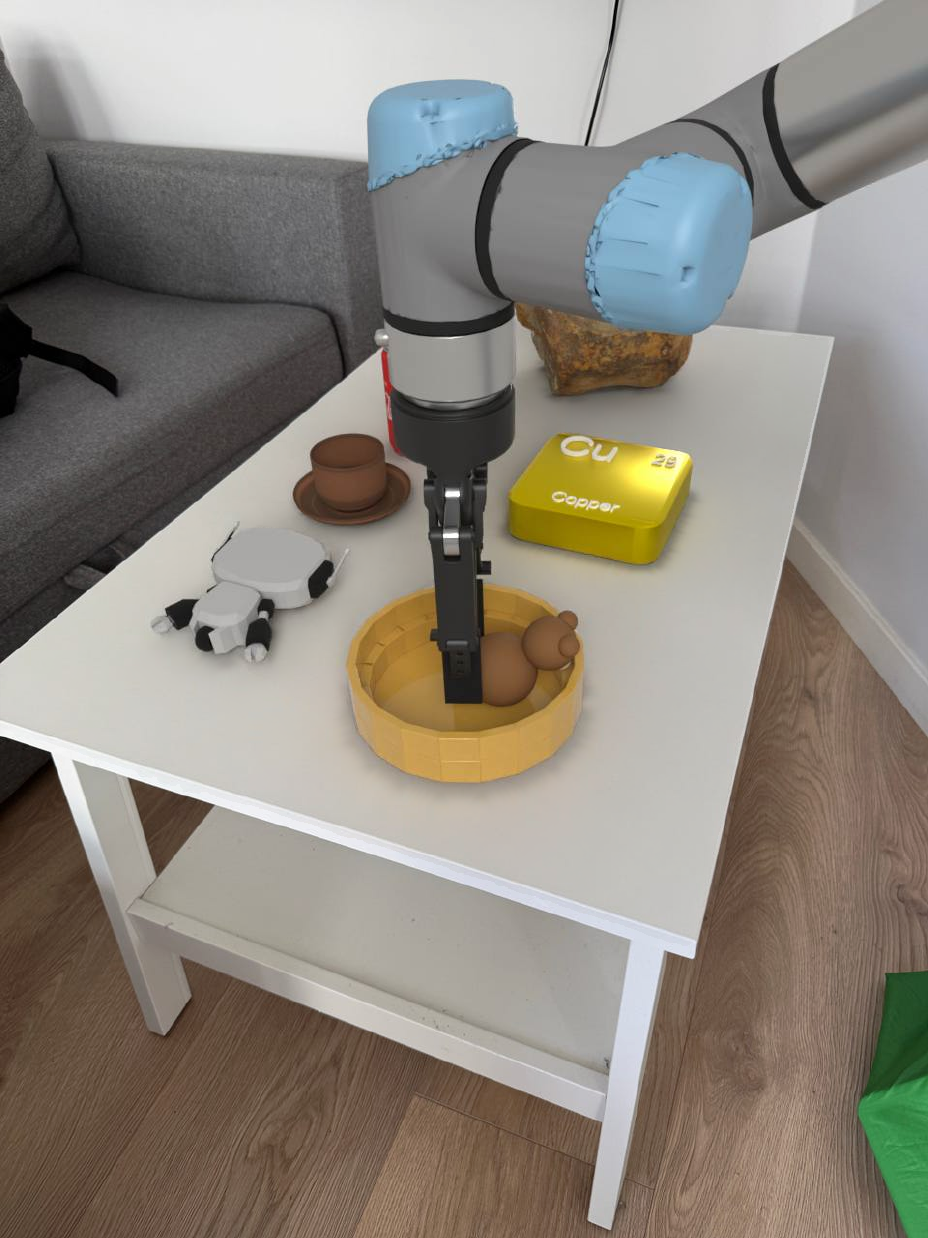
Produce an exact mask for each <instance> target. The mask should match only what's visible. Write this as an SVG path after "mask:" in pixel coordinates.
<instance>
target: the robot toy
mask: <svg viewBox="0 0 928 1238" xmlns="http://www.w3.org/2000/svg"><path fill="white" fill-rule="evenodd" d="M239 527H240V520H237V521H235V522H234V524H233V525H232V528H231V529H230V531H229V532H228V534H227V535H226V537H225V539H224V540H223V542H222V543H221V544H220V546H219V547H217V548H216V549H215V551H214V552H213V555H212V557H211V559H210V562H211V567H210V568H211V571H212V574H213V577H214V580H215V583H216V584H215V585H213V586H212V587H210V588H207V589H206V594H204V595H203V596H202V597H201V598H199V599H197V598H182V599H180V600H178V601H176V602H175V603H172V604H170V605H169V606H166V607H165V608H164V611H165V615H160V616H159V615H158V616H156V617H155V618H154V619H152V620H151V621H150V628H151V630H153V631H154V632H155V634H156V635H163V634H166V633H169V632H170V631H171V629H172V628H174V629H175V630H176V631H178V632H179V631H180V630H182V629H184V628H186V627H188V626H189V627H190V630H191V633H192V636H193V638H194V644H195V646H196V647H197V649H199V651H202V652H206V653H208V652H209V653H210V652H213V651H214V654H216V655H219V654H227V653H228V652H230V651H231V650H234V649H235V648H236V647H237V646H240V647H241V646H243V647H244V646H245V649H244V652H243V657H244V660H245V661H247V662H248V663H253V662H254V661H253V660H254V659H255V662H261V661H264V660H265V658H266V656H267V654H268V652H269V651H270V647H271V642H272V637H273V636H272V635H273V629H272V627H271V625H270V623H269V621H268V620H270V619H273V618H274V615H275V609H280V610H281V609H282V610H291V609H297V608H300V607H303V606H307V605H310V604H311V603H312V602H313V601H314V599H319V598H320V596H322V595H323V594H324V593H325V592H326V591H327V590H328V588H329V587H330V588H333V586H334V584H335V583H336V582H335V579H336V577H337V576H338V574H339V572H340V570H341V568H342V567H343V565H344V563H345V561H346V559H347V558H348V557H349V556H350V554H351V547H348V548H346V549H345V551H344V553H343V555H342V558H341V560H340V561H339V563H338V565H336V566H337V567H336V568H335V565H334V562H333V559H332V555H331V550H330V549H329V547H327V545H326V544H324V543H323V542H322V541H320V540H318V539H317V538H314V537H312V536H309V535H306V534H303V533H301V532H299V531H296V530H292V529H285V528H277V527H251V528H248V529H245V530H241V531H237V532H236V533H235V531H236V530H238V528H239ZM234 533H235V534H234ZM233 534H234V535H233Z"/></svg>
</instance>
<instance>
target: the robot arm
mask: <svg viewBox="0 0 928 1238" xmlns="http://www.w3.org/2000/svg"><path fill="white" fill-rule="evenodd" d="M514 100H515V99H514V97H513V95H512V93H511V91H510V90H509V89H508V88H507V87H505V86H504V85H502V84H498V83H492V82H490V81H486V80H482V79H465V78H461V79H460V78H458V79H457V78H456V79H455V78H454V79H433V80H422V81H414V82H409V83H404V84H400V85H396V86H393V87H390V88H387V89H385V90H383V91H382V92H380V93H379V94H378V95H377V96H375V97H374V98H373V100H372V102H371V103H370V105H369V107H368V110H367V118H366V128H367V129H366V131H367V133H366V134H367V163H368V164H367V166H368V169H367V171H368V182H367V183H366V186H367V192H368V193H369V200H370V207H371V215H372V224H373V231H374V232H373V233H374V239H375V247H376V253H377V262H378V263H377V264H378V272H379V273H378V274H379V284H380V291H381V309H382V310H381V311H382V317H383V328H379V329H377V330H375V333H374V337H373V339H374V343H375V344H376V345H377V346H378V347H383V346H389V350H388V353H387V361H388V371H389V381H390V383H391V384H392V386H393V389H392V390H391V393H390V404H391V415H392V426H393V437H394V443H395V445H396V447H397V449H398V450H399V452H400V453H401V454H402V455H403V456H402V457H404V458H406V459H407V460H409V461H411V462H413V463H414V464H415V463H416V464H419V465H422V466H424V467H425V468H426V478H424V479H423V504H424V506H425V508H426V509H427V511H428V513H427V514H428V535H427V538H428V541H429V544H430V549H431V557H432V568H433V585H434V587H435V600H436V614H437V629H431V632H430V641H437V646H438V650H439V652H442V666H443V681H444V696H445V704H482V666H481V637H483V636H485V632H484V597H483V583H484V578H478V576H492V560H482V552H483V550H484V536H485V535H484V533H485V532H484V513H485V511H486V506H487V499H488V480H489V463H490V462H493V461H495V460H497V459H498V458H500V457H501V456H503V455H504V454H505V453H506V452H508V450H509V449H510V448H511V447H512V445H513V443H514V442H515V438H516V387H515V385H514V384H513V382H514V380H515V377H516V376H517V316H516V308H515V302H520V303H524V304H529V305H533V306H537V307H542V308H546V309H550V310H554V311H559V312H563V313H567V314H572V315H576V316H580V317H584V318H589V319H593V320H597V321H601V322H606V323H610V324H611V325H613V326H617V327H618V328H620V329H623V330H628V329H629V330H631V331H635V332H643V331H652V332H659V333H667V334H675V335H692V334H693V335H696V334H700V333H701V332H703V331H706V330H707V329H708V328H710V327H711V326H712V325H714V323H715V322H716V321H717V320H719V318H720V317H721V316H722V314H723V312H724V310H725V307H726V304H727V302H728V300H730V299H731V298H732V297H733V296H734V294H735V292H736V290H737V288H738V285H739V283H740V280H741V278H742V274H743V270H744V268H745V265H746V261H747V257H748V253H749V249H750V242H751V241H753V240H755V239H756V238H759V237H761V236H763V235H765V234H767V233H769V232H772V231H774V230H776V229H778V228H781V227H783V226H785V225H787V224H790V223H792V222H794V221H796V220H798V219H801V218H803V217H805V216H807V215H809V214H812V213H815V212H816V211H818V210H820V209H822V208H823V207H826V206H827V205H829V204H831V203H833V202H836V201H838V200H840V199H842V198H844V197H847V196H849V195H851V194H853V193H856V192H858V191H861V190H862V189H864V188H868V187H870V186H871V185H874V184H876V183H878V182H880V181H883V180H885V179H887V178H890V177H892V176H894V175H896V174H899V173H901V172H903V171H906V170H907V169H910V168H912V167H914V166H916V165H918V164H921V163H924V162H925V161H928V0H882V1H879V2H878V3H876V4H875V5H873V6H871V7H870V8H867V9H866V10H864V11H862V12H861V13H860V14H858V15H856V16H854V17H853V18H851V19H849V20H847V21H846V22H844V23H842V24H841V25H839V26H838V27H836V28H834V29H832V30H831V31H829V32H827V33H826V34H824V35H822V36H821V37H819V38H817V39H815V40H814V41H812V42H810V43H809V44H807V45H805V46H803V47H802V48H800V49H799V50H797V51H795V52H794V53H792V54H790V55H788V56H787V57H786V58H784V59H782V60H781V61H779V62H778V63H776V64H775V65H772V66H770V67H768V68H766V69H764V70H762V71H760V72H759V73H758V74H755V75H754V76H752V77H750V78H748V79H747V80H745V81H744V82H741V83H740V84H738V85H737V86H735V87H733V88H732V89H730V90H728V91H727V92H725V93H723V94H721V95H720V96H718V97H717V98H714V99H713V100H711V101H709V102H708V103H706V104H705V105H702V106H700V107H698V108H696V109H694V110H692V111H690V112H689V113H687V114H684V115H683V116H680V117H678V118H675V119H674V120H671V121H668V122H666V123H662V124H660V125H658V126H656V127H654V128H651V129H649V130H646V131H644V132H642V133H640V134H637V135H635V136H633V137H631V138H627V139H625V140H623V141H621V142H618V143H616V144H614V145H607V146H592V145H581V144H567V143H556V142H554V143H553V142H546V141H542V140H536V139H535V140H533V139H532V138H529V137H524V136H523V137H522V136H518V133H519V123H518V121H517V118H516V106H515V105H516V104H515V101H514Z"/></svg>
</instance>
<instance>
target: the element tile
mask: <svg viewBox="0 0 928 1238" xmlns="http://www.w3.org/2000/svg"><path fill="white" fill-rule="evenodd" d="M693 464H694V462H693V459H692V457H691V456H690V455H689V454H688V453H685V452H682V451H677V450H672V449H667V448H660V447H655V446H650V445H643V444H637V443H632V442H625V441H620V440H613V439H608V438H601V437H595V436H590V435H584V434H578V433H571V432H559V433H557V434H555V435H554V436H552V437H550V438H549V439H548V440H547V441H546V442H545V444H544V445H543V446H542V448H541V449H540V450H539V451H538V453H537V454H536V456H535V457H533V460H532V461H531V462H530V464H529V465H528V466H527V467H526V468H525V470H524V471H523V473H522V474H520V476H519V478H518V479H517V480H516V482H515V483H514V484H513V486H512V487H511V488H510V489H509V491H508V495H507V496H508V497H507V498H508V502H507V503H508V531H509V533H510V535H512V537H515V538H517V539H519V540H520V541H524V542H529V543H532V544H533V543H534V544H539V545H542V546H546V547H547V546H548V547H553V548H557V549H562V550H566V551H570V552H576V553H580V554H585V555H589V556H594V557H598V558H602V559H608V560H613V561H618V562H622V563H626V564H630V565H631V564H632V565H647V564H650V563H653V562H655V561H656V560H658V559H659V557H660V556H661V555H662V553H663V550H664V548H665V546H666V545H667V542H668V540H669V539H670V537H671V535H672V532H673V530H674V527H675V526H676V523H677V522H678V520H679V517H680V515H681V513H682V511H683V509H684V507H685V505H686V502H687V500H688V499H689V495H690V489H691V482H692V474H693V466H694V465H693Z"/></svg>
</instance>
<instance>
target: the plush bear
mask: <svg viewBox="0 0 928 1238" xmlns="http://www.w3.org/2000/svg"><path fill="white" fill-rule="evenodd" d="M578 626H579V618H578V615H576V613H575V612H573V611H572V610H563V611H560V614H559V615H558V616H557V617H555V616H545V617H541V618H538V619H536V620H535V621H533V622H532V623H531V624H530V625H529V626H528V627H527V629H526V630H525V632H524V635H523V639H522V638H520V637H519V636H517V635H514V634H511V633H507V632H495V633H490V634H487V635H485V636H483V637H481V666H482V702H484V703H486V704H488V705H491V706H496V707H505V706H511V705H514V704H516V703H518V702H520V701H522V700H523V699H524V698H526V697H527V696H528V695H529V694H530V692H531V691H532V689H533V688H534V686H535V684H536V681H537V677H538V668H539V669H541V670H545V671H554V670H558V669H559V670H565V669H567V668H568V667H569V666H570V665H571V660H572V659H573V657H574V656H575V655H576V654H577V653H578V652H579V650H580V643H579V641H578V639H577V638H576V634H575V632H574V630H576V629H577V628H578Z"/></svg>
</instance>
